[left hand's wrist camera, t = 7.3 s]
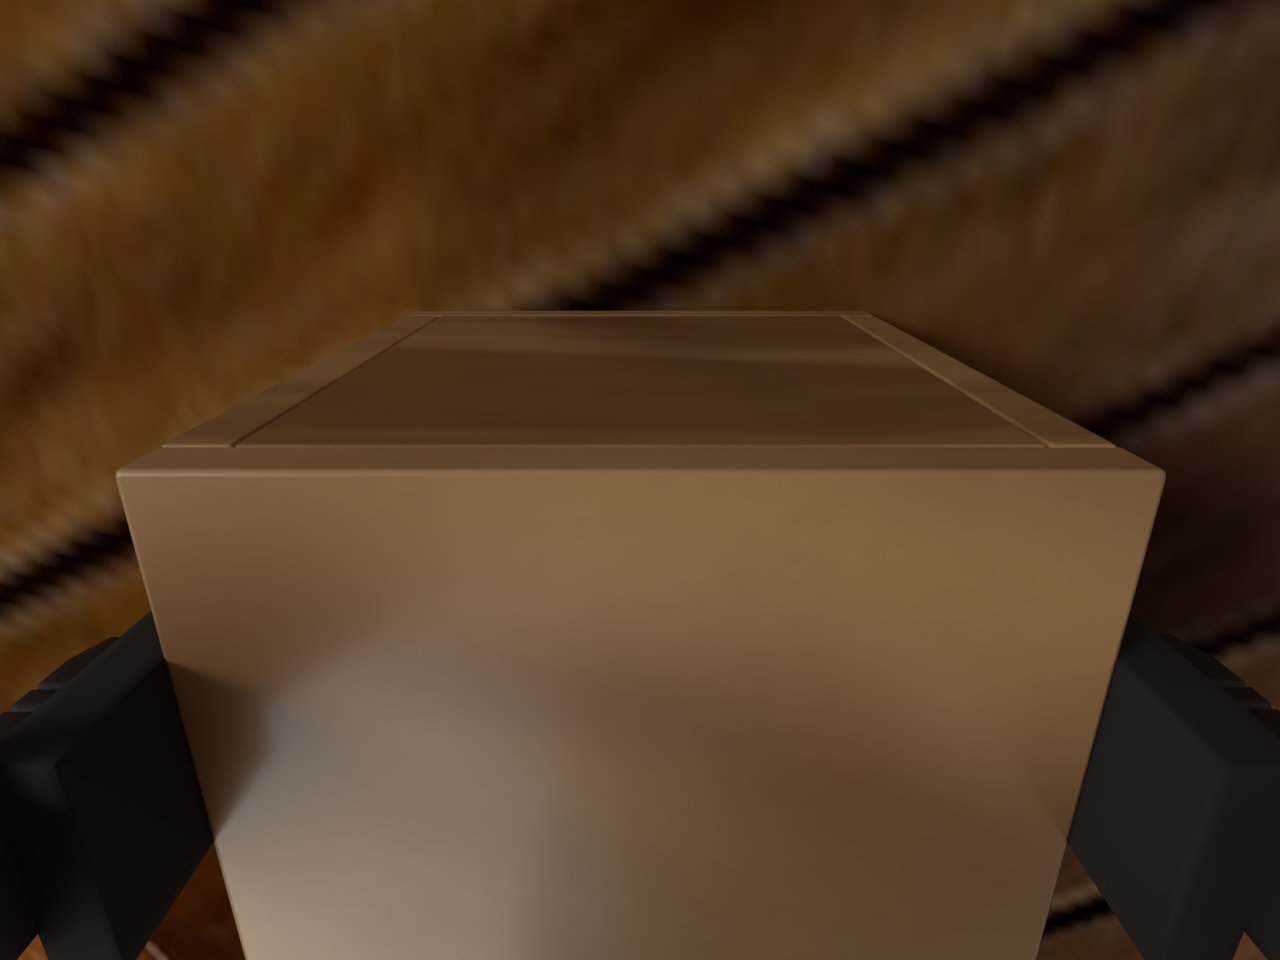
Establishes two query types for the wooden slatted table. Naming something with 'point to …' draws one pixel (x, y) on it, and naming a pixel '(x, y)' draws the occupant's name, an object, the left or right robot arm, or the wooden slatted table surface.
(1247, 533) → the wooden slatted table surface
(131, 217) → the wooden slatted table surface
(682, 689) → the cabinet
